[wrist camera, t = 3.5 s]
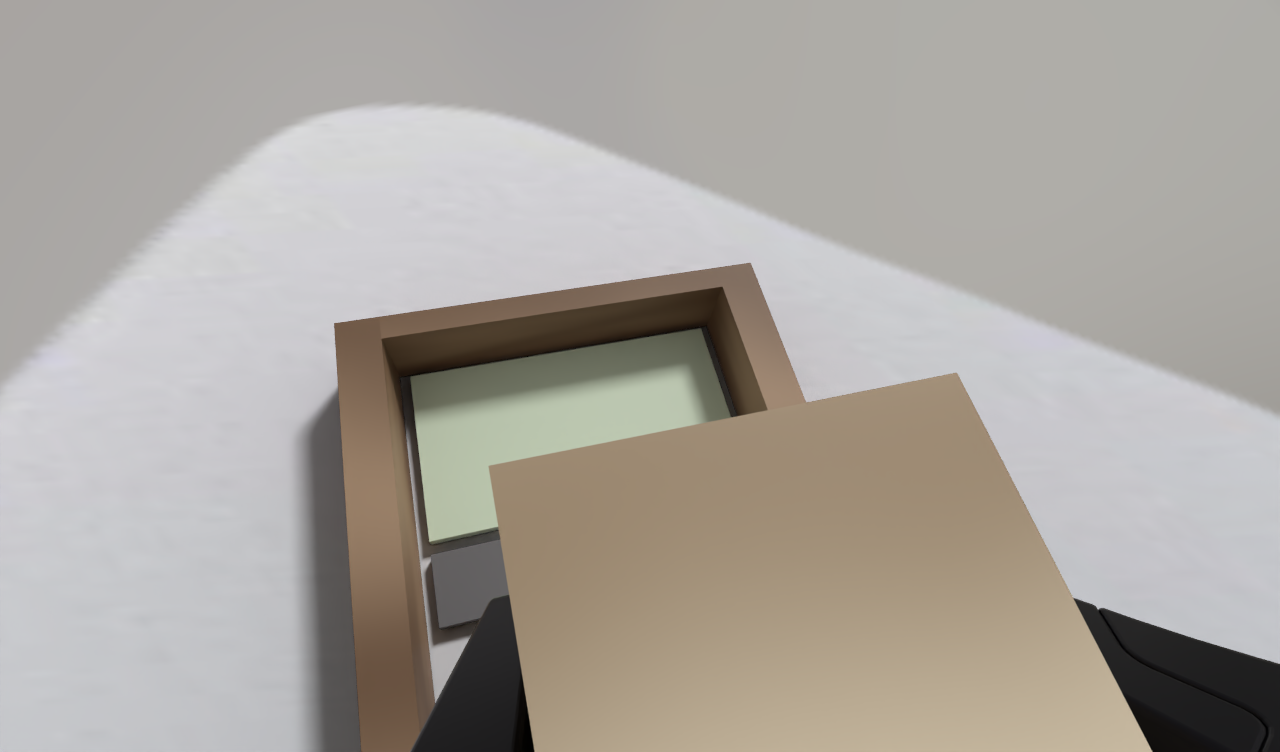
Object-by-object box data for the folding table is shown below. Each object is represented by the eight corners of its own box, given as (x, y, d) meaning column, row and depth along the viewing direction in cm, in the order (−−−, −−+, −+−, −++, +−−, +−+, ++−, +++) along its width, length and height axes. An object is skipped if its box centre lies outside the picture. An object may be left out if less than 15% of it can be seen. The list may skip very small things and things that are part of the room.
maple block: (753, 772, 14) (1253, 948, 4) (568, 833, 13) (616, 1255, 3) (700, 582, 15) (957, 372, 6) (532, 625, 14) (489, 466, 5)
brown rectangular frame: (999, 1024, 12) (1074, 1079, 10) (429, 1286, 10) (402, 1413, 8) (732, 303, 19) (750, 262, 17) (357, 363, 17) (333, 323, 15)
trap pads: (909, 957, 13) (916, 963, 12) (499, 1129, 11) (498, 1139, 11) (750, 486, 17) (753, 482, 16) (433, 557, 15) (430, 554, 15)
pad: (746, 474, 17) (749, 471, 16) (431, 544, 15) (429, 541, 15) (698, 333, 18) (700, 328, 18) (412, 381, 17) (410, 376, 16)
